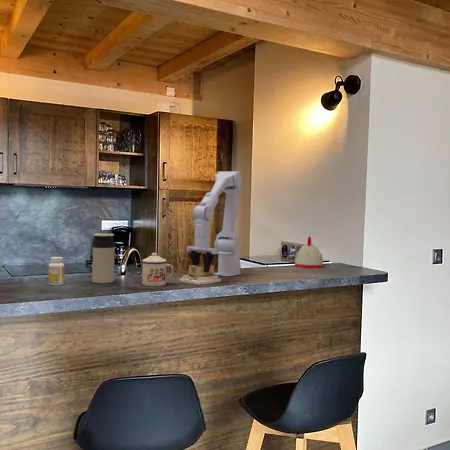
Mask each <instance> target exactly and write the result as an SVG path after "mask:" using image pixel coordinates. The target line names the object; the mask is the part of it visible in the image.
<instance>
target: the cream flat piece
mask: <svg viewBox="0 0 450 450" xmlns="http://www.w3.org/2000/svg"><path fill="white" fill-rule="evenodd" d="M178 281H179V282H182V283H188V284H193V285H199V286H200V285H201V284H202V285H209V284H213V283H219V282H220V283H221V282H222V278H219V275H215V274H214V276H207V277H200V278H195V277H190V276H189V274H186V275H182V278H179V279H178Z"/></svg>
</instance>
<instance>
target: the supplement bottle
mask: <svg viewBox="0 0 450 450" xmlns="http://www.w3.org/2000/svg"><path fill="white" fill-rule="evenodd" d="M63 259H64V258H63V257H62V256H51V257H50V263H49V264H48V285H49V286H62V285H64V284H65V263H63Z"/></svg>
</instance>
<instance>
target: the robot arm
mask: <svg viewBox="0 0 450 450" xmlns="http://www.w3.org/2000/svg"><path fill="white" fill-rule="evenodd" d="M214 179H215V183H214V185H213V187H212V188H211V189H210V190H211V191H210V192H206V193H205V195H204V196H203V198H202V200H201V201H200V203H199V204H198V205H196V206H195V207H193V209H192V212H191V213H192V214H191V215H192V219H193V225H194V246H192V245H187V246H186V251H187V252H188V253H187V254H188V256H189V258H190V261H191V264H192V266H194V265H200V263H201V262H200V260H201V257H202V261H203V264H204V272H209V270H210V266H211V265H212V263H213V261H214V259H215V257H216V255H218V258H217V259H218V260H217V261H218V263H217V264H218V265H217V272H214V275H217V276H224V277H231V276H233V277H234V276H239V275H242V272H241V258H240V256H239V255H238V253H239V251H240V248H241V241H240V239H241V238H240V236H239V234H237V233H236V232H235V227H236V216H237V208H238V207H237V206H238V198H239V193H240V192H241V191H242V190H241V189H242V182H243V181H242V180H243V178H242V174H241V173H240V171H239V170H236V171H234V170H233V171H228V170H227V171H220V170H219V171H217V172H216V174H215V176H214ZM222 192H223V193H225V202H224V203H225V204H224V212H223V222H222V230H221V231H220V232H219V233H217V234H216V239H215V241H214V248H213V247H210V234H211V233H210V231H211V230H210V228H211V227H210V225H211V224H210V223H211V220H212V219H213V217H214V211H215V208H216V206H217V204H218V203H219V200H220V199H219V196H220V195H221V193H222Z"/></svg>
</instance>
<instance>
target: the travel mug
mask: <svg viewBox="0 0 450 450" xmlns="http://www.w3.org/2000/svg"><path fill="white" fill-rule="evenodd" d="M114 236H115V234H114V233H93V238H94V239H93V241H92V249H91V250H92V263H91V264H92V265H91V266H92V267H91V272H92V273H91V282H92V283H94V284H105V285H106V284H111V283H113V282H115V247H116V246H115V241H114Z"/></svg>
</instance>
